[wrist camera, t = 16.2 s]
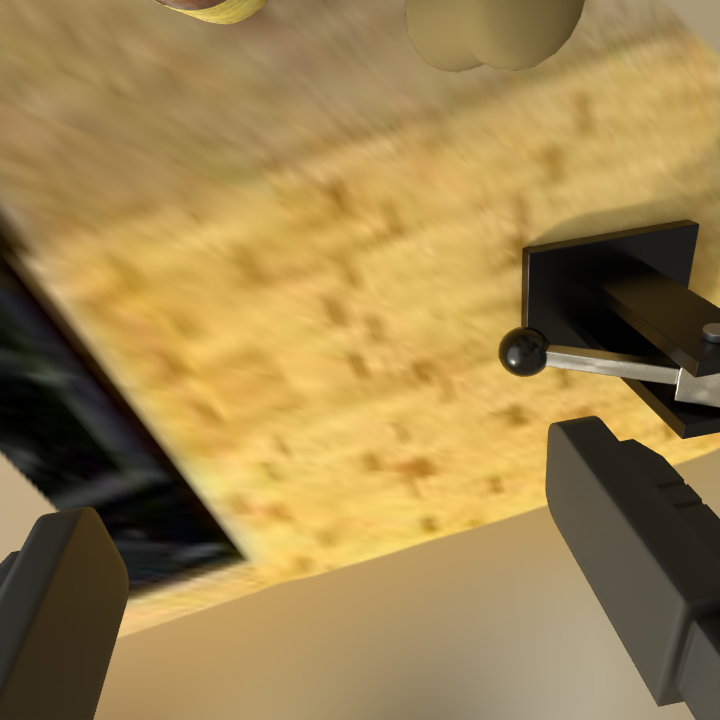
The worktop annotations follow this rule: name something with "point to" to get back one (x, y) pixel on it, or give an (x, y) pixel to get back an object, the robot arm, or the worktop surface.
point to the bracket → (629, 308)
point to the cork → (490, 31)
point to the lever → (602, 365)
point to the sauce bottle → (216, 9)
